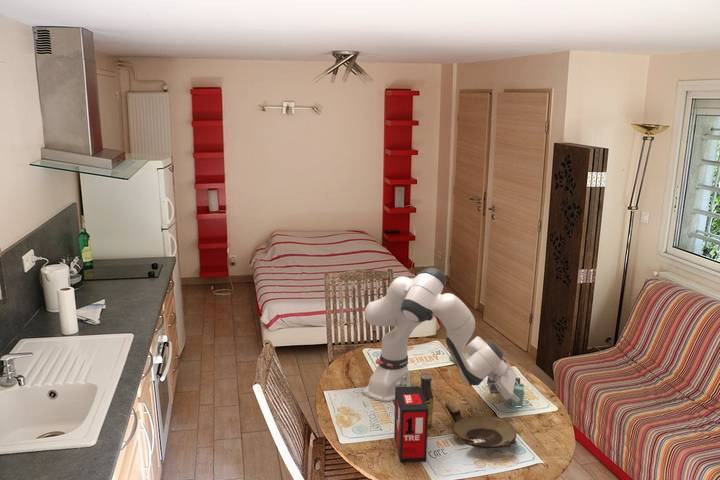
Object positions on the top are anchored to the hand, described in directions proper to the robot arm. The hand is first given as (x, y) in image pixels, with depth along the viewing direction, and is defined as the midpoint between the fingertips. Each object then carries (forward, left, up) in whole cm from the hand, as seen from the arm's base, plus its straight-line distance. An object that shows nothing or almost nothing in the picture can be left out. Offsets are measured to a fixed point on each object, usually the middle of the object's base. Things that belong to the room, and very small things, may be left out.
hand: (519, 395), depth 242 cm
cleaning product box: (-53, +20, -5) cm, 57 cm away
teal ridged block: (0, +1, -4) cm, 5 cm away
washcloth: (+27, +35, -5) cm, 44 cm away
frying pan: (-31, +3, -5) cm, 32 cm away
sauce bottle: (-36, +24, -5) cm, 43 cm away
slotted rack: (+11, +11, -4) cm, 16 cm away
